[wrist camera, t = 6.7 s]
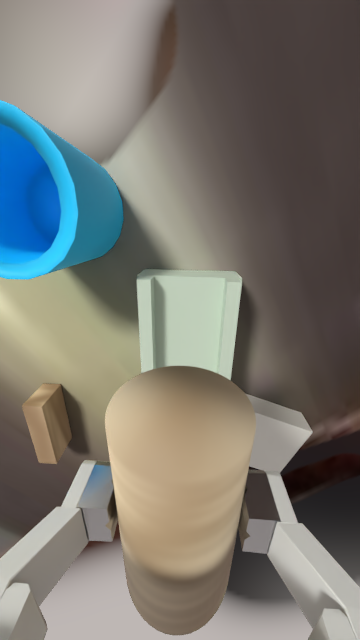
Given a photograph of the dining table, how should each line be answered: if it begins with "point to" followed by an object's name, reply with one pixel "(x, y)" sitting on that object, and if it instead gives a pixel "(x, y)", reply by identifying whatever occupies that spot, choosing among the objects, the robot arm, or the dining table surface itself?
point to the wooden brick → (48, 422)
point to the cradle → (188, 318)
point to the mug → (50, 200)
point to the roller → (179, 489)
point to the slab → (276, 435)
